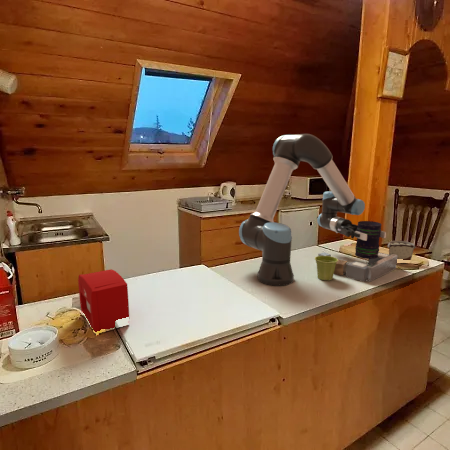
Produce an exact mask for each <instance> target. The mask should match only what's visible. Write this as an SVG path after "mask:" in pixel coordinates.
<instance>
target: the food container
mask: <svg viewBox="0 0 450 450" xmlns="http://www.w3.org/2000/svg"><path fill="white" fill-rule="evenodd" d="M387 248H388V254H389V255H392V254H395V255H398V257H397V259H403V260H411V261H412V258H413V253H414V249H416V244H415V243H413V242H409V241H405V240H391V241H389V242H388V243H387Z"/></svg>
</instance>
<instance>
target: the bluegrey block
mask: <svg viewBox="0 0 450 450" xmlns="http://www.w3.org/2000/svg"><path fill="white" fill-rule="evenodd" d="M317 254H318V255H317V256H331V257H332V254H331V253H327V252H324V251H323V252H320V253H317Z"/></svg>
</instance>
